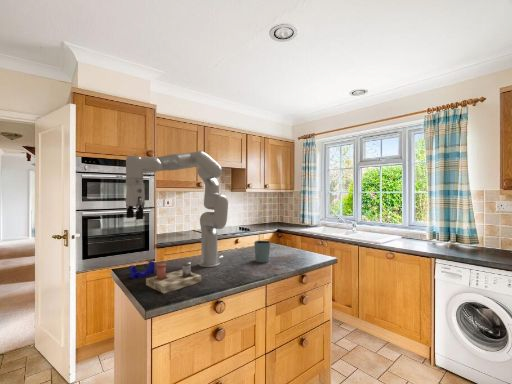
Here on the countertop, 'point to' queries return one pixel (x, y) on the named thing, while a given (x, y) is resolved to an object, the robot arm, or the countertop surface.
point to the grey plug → (186, 269)
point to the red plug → (161, 271)
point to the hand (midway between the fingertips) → (134, 218)
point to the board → (172, 281)
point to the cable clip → (135, 274)
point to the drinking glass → (262, 251)
